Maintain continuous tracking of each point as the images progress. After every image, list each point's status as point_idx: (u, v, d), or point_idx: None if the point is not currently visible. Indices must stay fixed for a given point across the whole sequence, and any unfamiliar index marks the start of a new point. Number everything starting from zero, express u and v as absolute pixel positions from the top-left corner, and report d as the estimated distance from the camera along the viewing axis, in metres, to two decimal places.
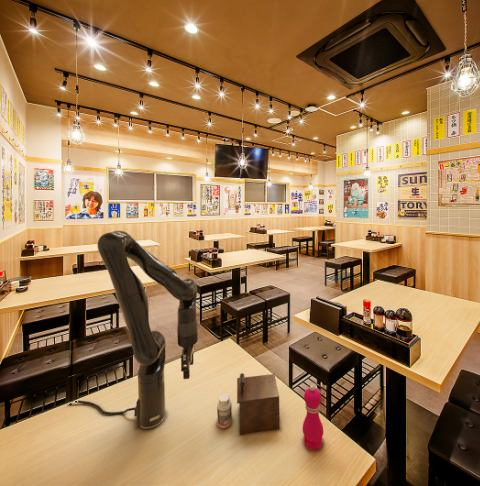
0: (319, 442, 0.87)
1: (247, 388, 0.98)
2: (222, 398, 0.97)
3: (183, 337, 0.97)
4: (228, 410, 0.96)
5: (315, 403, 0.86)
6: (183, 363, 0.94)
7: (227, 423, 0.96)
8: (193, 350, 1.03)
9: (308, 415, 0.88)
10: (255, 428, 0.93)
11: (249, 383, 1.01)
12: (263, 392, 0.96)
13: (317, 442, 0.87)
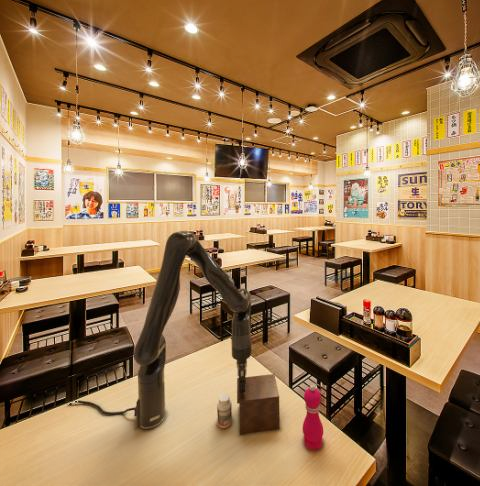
0: (319, 442, 0.87)
1: (247, 388, 0.98)
2: (222, 398, 0.97)
3: (239, 350, 0.94)
4: (228, 410, 0.96)
5: (315, 403, 0.86)
6: (241, 378, 0.92)
7: (227, 423, 0.96)
8: None
9: (308, 415, 0.88)
10: (255, 428, 0.93)
11: (249, 383, 1.01)
12: (263, 392, 0.96)
13: (317, 442, 0.87)
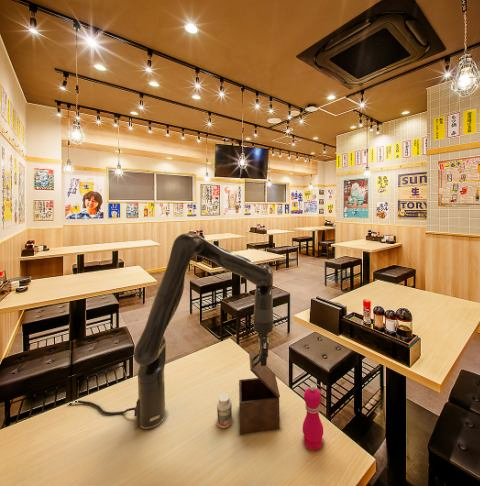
0: (319, 442, 0.87)
1: (258, 365, 0.99)
2: (222, 398, 0.97)
3: (262, 323, 0.95)
4: (228, 410, 0.96)
5: (315, 403, 0.86)
6: (263, 351, 0.93)
7: (227, 423, 0.96)
8: None
9: (308, 415, 0.88)
10: (255, 428, 0.93)
11: (259, 363, 1.01)
12: (268, 380, 0.97)
13: (317, 442, 0.87)
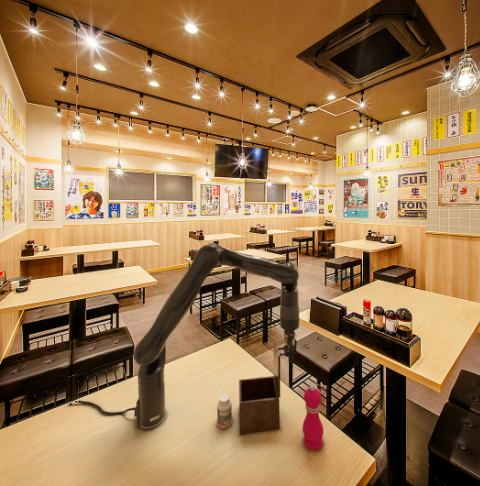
0: (319, 442, 0.87)
1: None
2: (222, 398, 0.97)
3: (289, 320, 0.97)
4: (228, 410, 0.96)
5: (315, 403, 0.86)
6: (292, 347, 0.94)
7: (227, 423, 0.96)
8: None
9: (308, 415, 0.88)
10: (255, 428, 0.93)
11: None
12: None
13: (317, 442, 0.87)
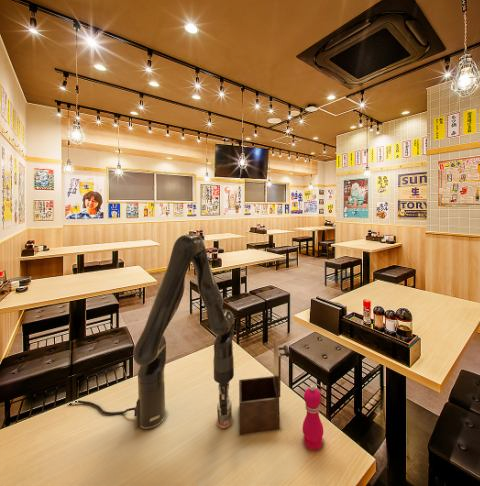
0: (319, 442, 0.87)
1: None
2: None
3: (220, 373, 0.94)
4: (228, 410, 0.96)
5: (315, 403, 0.86)
6: (222, 402, 0.91)
7: (227, 423, 0.96)
8: None
9: (308, 415, 0.88)
10: (255, 428, 0.93)
11: None
12: None
13: (317, 442, 0.87)
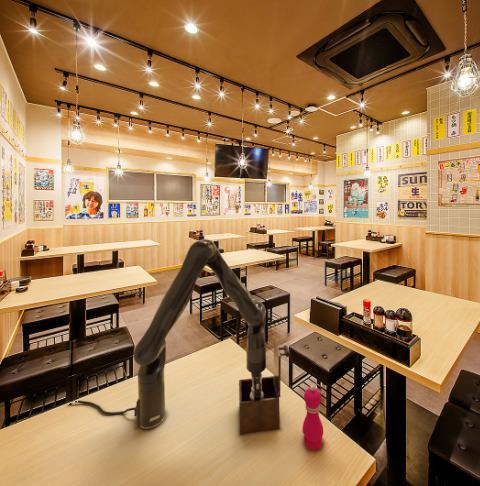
0: (319, 442, 0.87)
1: None
2: None
3: (254, 363, 0.95)
4: None
5: (315, 403, 0.86)
6: (256, 392, 0.93)
7: None
8: None
9: (308, 415, 0.88)
10: (255, 428, 0.93)
11: None
12: None
13: (317, 442, 0.87)
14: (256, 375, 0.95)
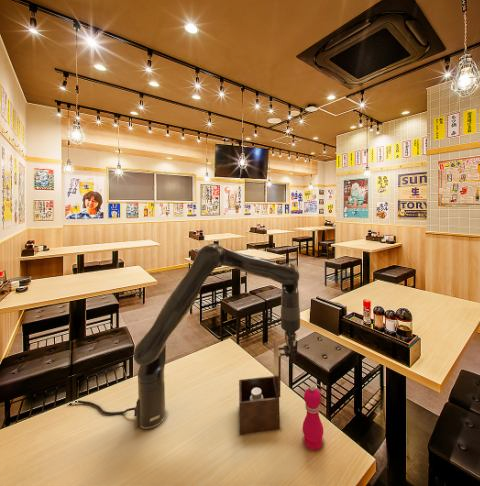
0: (319, 442, 0.87)
1: None
2: (254, 391, 0.99)
3: (290, 321, 0.97)
4: None
5: (315, 403, 0.86)
6: (293, 348, 0.94)
7: None
8: None
9: (308, 415, 0.88)
10: (255, 428, 0.93)
11: None
12: None
13: (317, 442, 0.87)
14: (292, 333, 0.97)
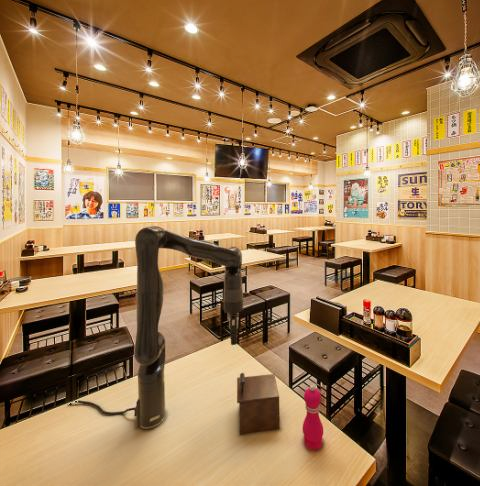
0: (319, 442, 0.87)
1: (247, 388, 0.98)
2: None
3: (231, 303, 0.97)
4: None
5: (315, 403, 0.86)
6: (232, 328, 0.94)
7: None
8: None
9: (308, 415, 0.88)
10: (255, 428, 0.93)
11: (249, 383, 1.01)
12: (263, 392, 0.96)
13: (317, 442, 0.87)
14: (232, 315, 0.97)
